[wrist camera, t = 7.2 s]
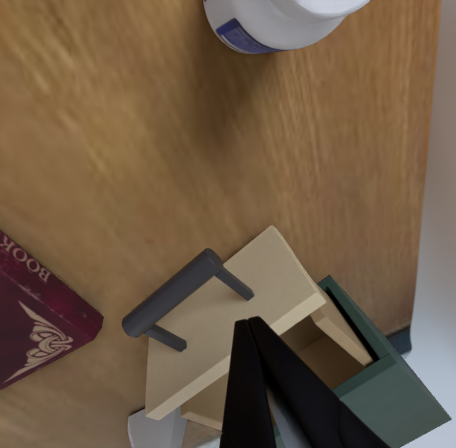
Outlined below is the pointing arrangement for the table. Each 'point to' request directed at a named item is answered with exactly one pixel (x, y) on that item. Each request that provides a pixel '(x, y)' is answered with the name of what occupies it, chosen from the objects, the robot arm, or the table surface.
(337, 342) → the drawer
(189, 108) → the table surface
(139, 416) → the flask
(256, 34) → the pill bottle
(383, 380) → the cabinet
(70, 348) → the book
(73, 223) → the table surface
